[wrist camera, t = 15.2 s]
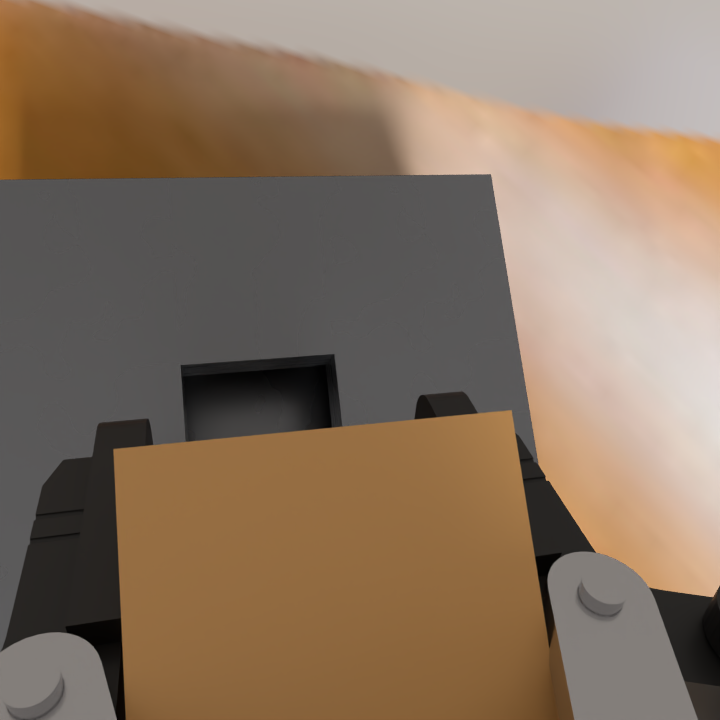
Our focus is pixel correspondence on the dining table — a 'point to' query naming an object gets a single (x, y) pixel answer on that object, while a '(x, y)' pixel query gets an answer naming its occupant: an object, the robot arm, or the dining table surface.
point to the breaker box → (239, 314)
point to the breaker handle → (332, 576)
